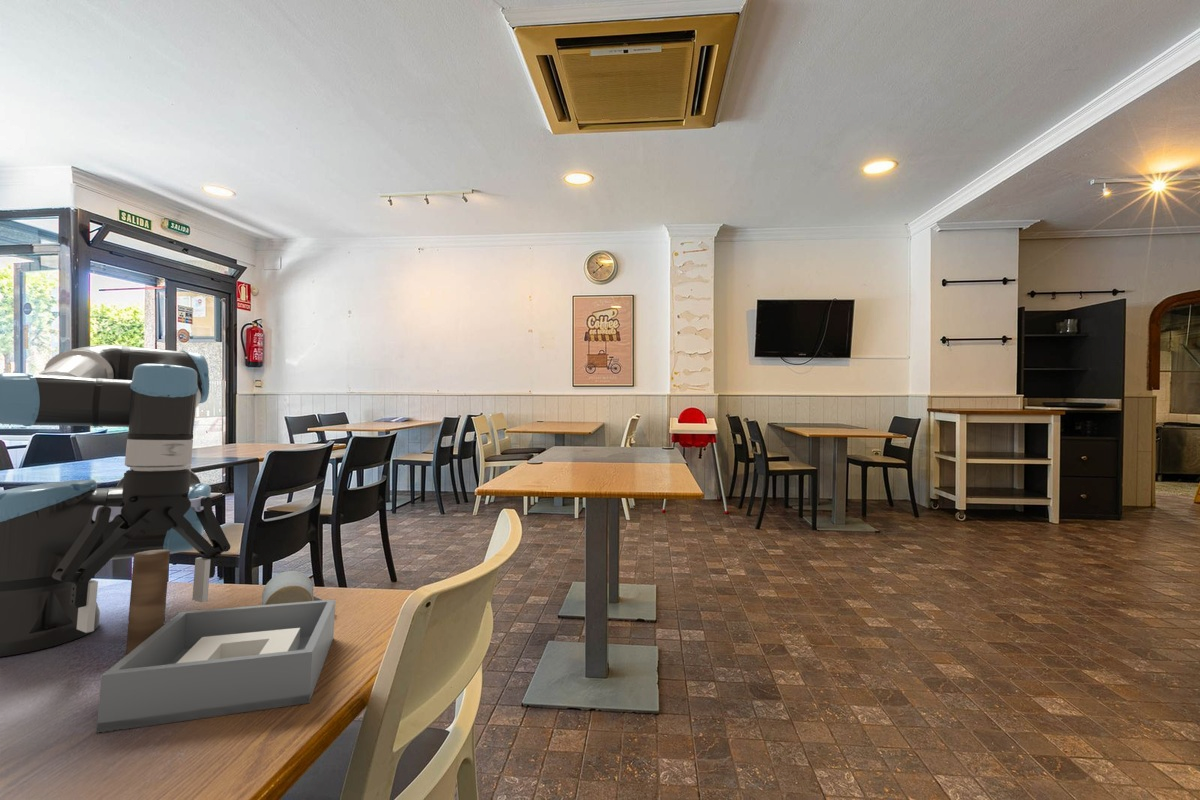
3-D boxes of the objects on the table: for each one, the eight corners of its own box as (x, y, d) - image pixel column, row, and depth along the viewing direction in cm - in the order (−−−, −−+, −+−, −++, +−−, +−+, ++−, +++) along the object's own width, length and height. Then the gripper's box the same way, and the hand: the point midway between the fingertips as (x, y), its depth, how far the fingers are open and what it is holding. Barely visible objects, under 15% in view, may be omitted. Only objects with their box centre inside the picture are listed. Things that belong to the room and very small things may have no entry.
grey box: (177, 654, 73) (180, 611, 73) (333, 638, 80) (335, 599, 80) (96, 733, 54) (101, 675, 54) (309, 703, 61) (312, 651, 61)
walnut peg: (134, 646, 75) (142, 550, 76) (167, 643, 76) (174, 548, 77) (119, 658, 71) (127, 556, 72) (154, 654, 73) (162, 555, 74)
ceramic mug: (260, 634, 80) (264, 585, 81) (260, 618, 87) (264, 572, 88) (335, 623, 86) (338, 577, 87) (329, 608, 93) (332, 566, 94)
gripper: (53, 475, 63) (37, 651, 61) (260, 465, 85) (251, 594, 84) (27, 471, 66) (11, 639, 64) (233, 463, 88) (224, 587, 87)
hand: (147, 614), depth 74 cm, fingers open, 13 cm apart
